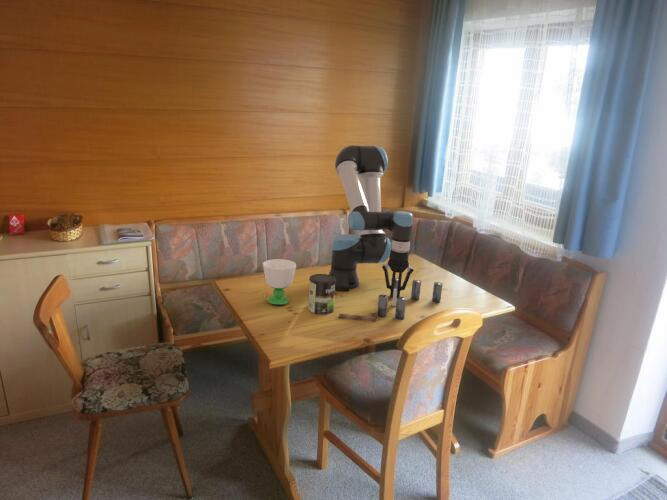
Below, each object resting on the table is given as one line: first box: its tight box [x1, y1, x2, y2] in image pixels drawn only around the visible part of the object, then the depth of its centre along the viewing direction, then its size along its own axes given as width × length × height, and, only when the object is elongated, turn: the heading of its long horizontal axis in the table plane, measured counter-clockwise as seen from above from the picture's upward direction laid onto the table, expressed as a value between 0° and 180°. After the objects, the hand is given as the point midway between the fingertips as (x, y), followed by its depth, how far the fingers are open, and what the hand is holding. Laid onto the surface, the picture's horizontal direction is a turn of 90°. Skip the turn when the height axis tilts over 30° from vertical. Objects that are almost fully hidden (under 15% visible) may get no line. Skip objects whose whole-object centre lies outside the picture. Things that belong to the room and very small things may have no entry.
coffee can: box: [307, 273, 336, 316], centre depth 190 cm, size 10×10×14 cm
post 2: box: [389, 276, 399, 299], centre depth 210 cm, size 4×4×9 cm
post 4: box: [410, 279, 422, 301], centre depth 209 cm, size 4×4×9 cm
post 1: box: [376, 294, 389, 319], centre depth 189 cm, size 4×4×9 cm
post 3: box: [394, 296, 407, 321], centre depth 188 cm, size 4×4×9 cm
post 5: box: [431, 281, 444, 304], centre depth 208 cm, size 4×4×9 cm
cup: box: [262, 258, 297, 305], centre depth 199 cm, size 14×14×16 cm
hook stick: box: [338, 312, 377, 323], centre depth 187 cm, size 14×6×2 cm, turn 85°
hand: (393, 304), depth 201 cm, fingers closed
